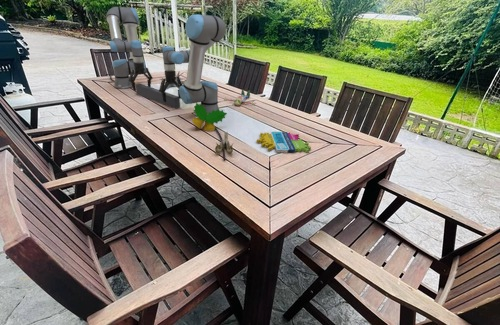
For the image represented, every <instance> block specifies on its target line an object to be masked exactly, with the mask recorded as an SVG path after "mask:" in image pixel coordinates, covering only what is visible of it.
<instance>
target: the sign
mask: <svg viewBox="0 0 500 325" xmlns="http://www.w3.org/2000/svg"><path fill="white" fill-rule="evenodd" d="M299 136H300V135H299V134H298V133H296V134H294V133H291V132H287V131H270V132H264V133H263V132H260V133H259V139H258V138H257V139H256V143H257V144H261V148H263V147H264V148H265V149H267V151H268V152H271V151H272V150H273V149H275V152H276V153H283V154H285V153H287V154H288V153H290V154H293V153H296V152H298V153H301V152H305V153H310V151H311V150H312V149H311V148H312V146H309V142H304V141H303V139H302V138H299Z"/></svg>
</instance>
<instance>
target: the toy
mask: <svg viewBox="0 0 500 325" xmlns="http://www.w3.org/2000/svg"><path fill="white" fill-rule="evenodd" d="M240 92H241V93H240V95H238V96H237V97H235V99H233V98H230V99H228V98H227V97H226V96H225V97H224V98H223V101H224V102H233V103H232V104H233V105H235V106H242V103H243V104H247V105H252V106H255V105H256V104H257V103H256V102H254V101H253V100H252V101H251V102H250V101H248V100H246V99H248V98H250V97H251V90H250V89H249V90H248V91H247V92H246V93H245V91H244V89H242V90H241V91H240Z"/></svg>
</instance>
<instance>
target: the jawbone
mask: <svg viewBox="0 0 500 325" xmlns="http://www.w3.org/2000/svg"><path fill="white" fill-rule="evenodd" d="M223 135H224V136H223V139H222V141H221V140H220V141H221V142H220V144H218V142H215V144H216V146H215V148H214V149H215V152H214V154H215V155H217V156H218V155H220V153H221V152H223V149H224V150H226V152H227V153H228V155H229V156H233V155H234V154H233V153H234V148H233V144H234V143H230V140H228V139H229V138H228V137H229V136H228V135H229V133H228V131H226V132H224V134H223Z"/></svg>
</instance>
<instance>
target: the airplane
mask: <svg viewBox="0 0 500 325" xmlns="http://www.w3.org/2000/svg"><path fill="white" fill-rule="evenodd" d="M176 76H178V77H179V78H180V70H178V73H177V74H176ZM159 80H160V81H162V78H159ZM175 81H176V82H177V80H175ZM180 81H181V83H182V85H183V84H184V81H185V80H184V78H180ZM177 83H178V82H177ZM170 87H177V86H176V85H175V84H169V85H168V87H167V89H168V88H170Z"/></svg>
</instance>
